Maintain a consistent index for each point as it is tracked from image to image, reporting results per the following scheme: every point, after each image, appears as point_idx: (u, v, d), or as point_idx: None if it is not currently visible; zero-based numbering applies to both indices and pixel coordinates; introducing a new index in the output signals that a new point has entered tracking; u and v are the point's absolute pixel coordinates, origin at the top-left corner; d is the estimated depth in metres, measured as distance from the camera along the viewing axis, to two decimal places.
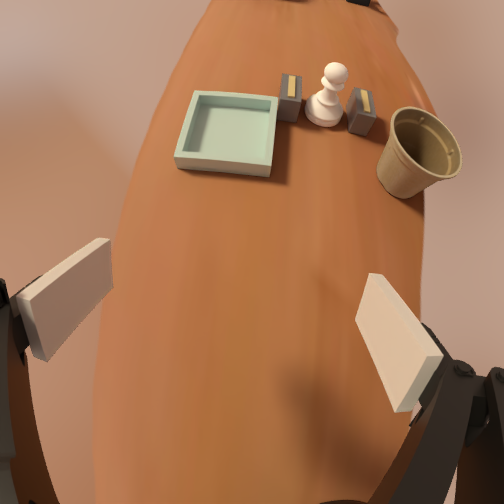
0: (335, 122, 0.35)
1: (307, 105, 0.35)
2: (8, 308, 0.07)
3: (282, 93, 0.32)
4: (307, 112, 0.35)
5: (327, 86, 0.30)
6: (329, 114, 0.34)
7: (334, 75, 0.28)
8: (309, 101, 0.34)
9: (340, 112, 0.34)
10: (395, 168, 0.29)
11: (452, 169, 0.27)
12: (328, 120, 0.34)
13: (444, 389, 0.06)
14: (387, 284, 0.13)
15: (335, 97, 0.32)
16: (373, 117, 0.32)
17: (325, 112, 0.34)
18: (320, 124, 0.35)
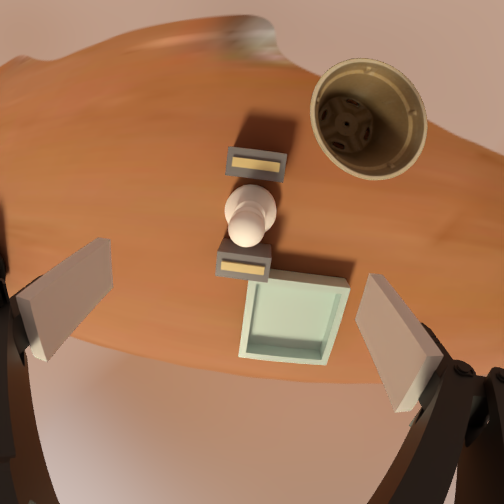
0: (272, 197, 0.29)
1: None
2: (8, 308, 0.07)
3: (256, 279, 0.28)
4: None
5: None
6: (270, 211, 0.28)
7: (261, 238, 0.23)
8: None
9: (261, 192, 0.28)
10: None
11: (396, 83, 0.19)
12: (276, 210, 0.29)
13: (444, 389, 0.06)
14: (387, 285, 0.13)
15: None
16: (286, 158, 0.25)
17: (268, 217, 0.28)
18: None
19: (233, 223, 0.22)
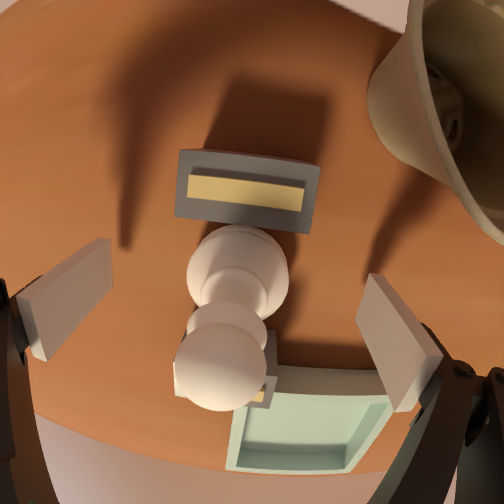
0: (280, 251, 0.15)
1: None
2: (8, 308, 0.07)
3: (249, 404, 0.14)
4: None
5: None
6: (278, 284, 0.14)
7: None
8: None
9: (259, 247, 0.13)
10: None
11: None
12: None
13: (444, 389, 0.06)
14: (387, 285, 0.13)
15: (245, 293, 0.12)
16: (318, 177, 0.10)
17: (274, 295, 0.14)
18: None
19: (183, 368, 0.08)
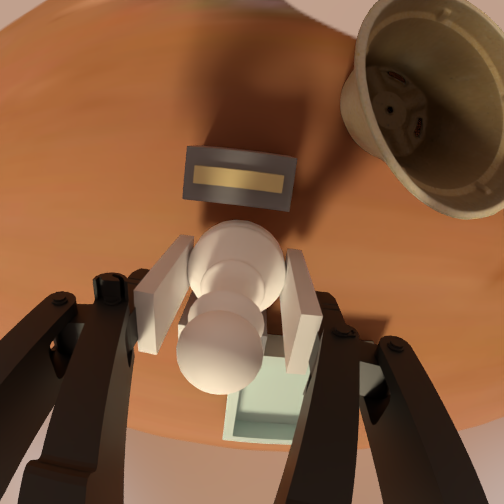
0: (277, 246, 0.15)
1: None
2: (126, 306, 0.09)
3: None
4: None
5: None
6: (275, 277, 0.14)
7: None
8: None
9: (257, 241, 0.14)
10: None
11: (487, 45, 0.07)
12: (285, 272, 0.15)
13: (324, 355, 0.08)
14: (300, 258, 0.15)
15: (244, 285, 0.12)
16: (295, 167, 0.13)
17: (271, 288, 0.14)
18: None
19: (184, 352, 0.08)
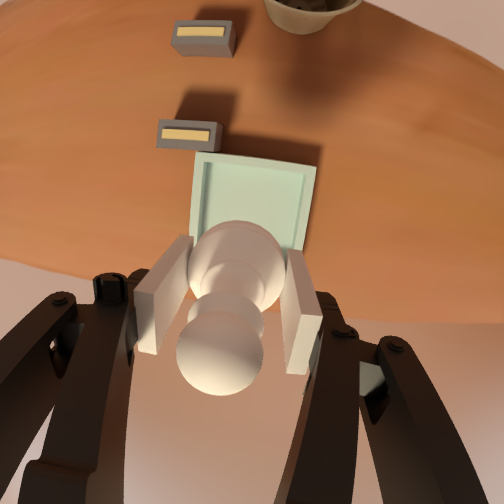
0: (277, 246, 0.15)
1: None
2: (125, 306, 0.09)
3: (201, 148, 0.23)
4: None
5: None
6: (275, 278, 0.14)
7: (254, 379, 0.09)
8: None
9: (257, 241, 0.14)
10: (327, 19, 0.18)
11: None
12: (285, 273, 0.15)
13: (324, 355, 0.08)
14: (300, 258, 0.15)
15: (244, 285, 0.12)
16: (231, 25, 0.20)
17: (271, 288, 0.14)
18: None
19: (184, 353, 0.08)
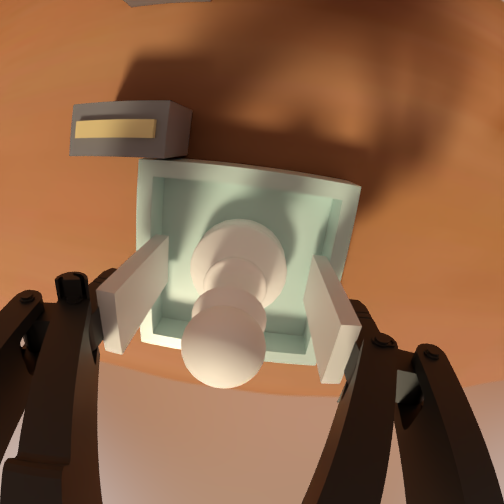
0: (278, 244, 0.16)
1: None
2: (87, 304, 0.09)
3: (141, 152, 0.12)
4: None
5: None
6: (276, 275, 0.15)
7: (257, 372, 0.09)
8: None
9: (259, 239, 0.14)
10: None
11: None
12: None
13: (364, 363, 0.08)
14: (327, 264, 0.14)
15: (246, 282, 0.13)
16: None
17: (272, 285, 0.15)
18: None
19: (189, 346, 0.09)
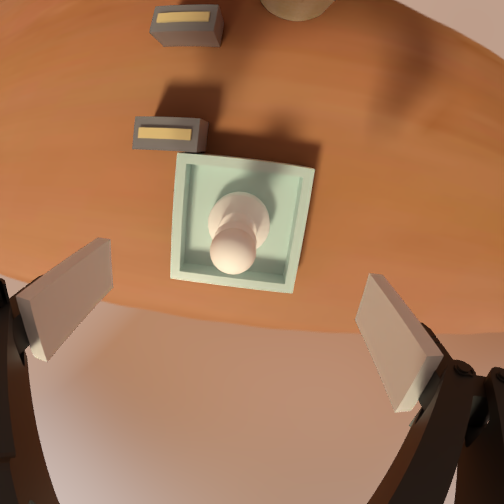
0: (264, 207, 0.24)
1: None
2: (8, 308, 0.07)
3: (182, 148, 0.20)
4: None
5: None
6: (263, 225, 0.23)
7: (251, 264, 0.18)
8: None
9: (252, 202, 0.23)
10: (327, 2, 0.15)
11: None
12: None
13: (444, 389, 0.06)
14: (387, 285, 0.13)
15: None
16: (218, 9, 0.16)
17: (261, 231, 0.23)
18: None
19: (216, 245, 0.17)
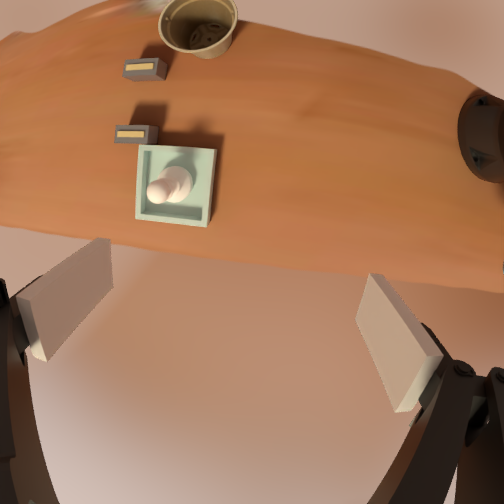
0: (188, 174, 0.39)
1: None
2: (8, 308, 0.07)
3: (140, 142, 0.35)
4: None
5: (170, 196, 0.35)
6: (185, 183, 0.39)
7: (166, 197, 0.33)
8: (170, 200, 0.40)
9: (179, 170, 0.38)
10: (217, 48, 0.30)
11: None
12: (190, 183, 0.39)
13: (444, 389, 0.06)
14: (387, 284, 0.13)
15: (171, 181, 0.37)
16: (158, 60, 0.32)
17: (184, 187, 0.39)
18: None
19: (148, 187, 0.32)
